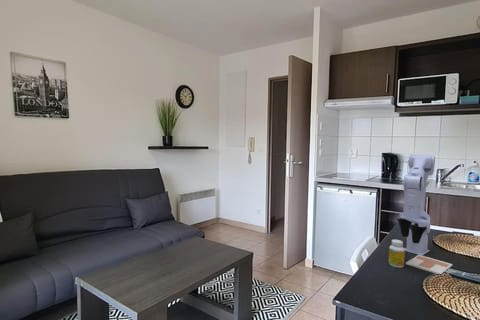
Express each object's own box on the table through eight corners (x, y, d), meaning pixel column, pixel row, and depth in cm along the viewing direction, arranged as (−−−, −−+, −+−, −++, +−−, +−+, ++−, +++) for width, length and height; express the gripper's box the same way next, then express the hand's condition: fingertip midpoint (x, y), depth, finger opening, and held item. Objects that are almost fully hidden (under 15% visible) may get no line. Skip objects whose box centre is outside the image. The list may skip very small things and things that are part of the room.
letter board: (418, 256, 122) (418, 254, 122) (452, 265, 113) (452, 264, 113) (405, 264, 114) (405, 262, 114) (440, 275, 104) (440, 273, 104)
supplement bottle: (388, 266, 111) (389, 241, 111) (388, 261, 116) (389, 238, 116) (404, 269, 109) (405, 244, 108) (403, 264, 114) (404, 240, 113)
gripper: (392, 201, 118) (390, 233, 119) (412, 209, 104) (410, 245, 105) (409, 202, 118) (408, 234, 119) (431, 210, 104) (429, 246, 104)
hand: (410, 239), depth 112 cm, fingers open, 7 cm apart
